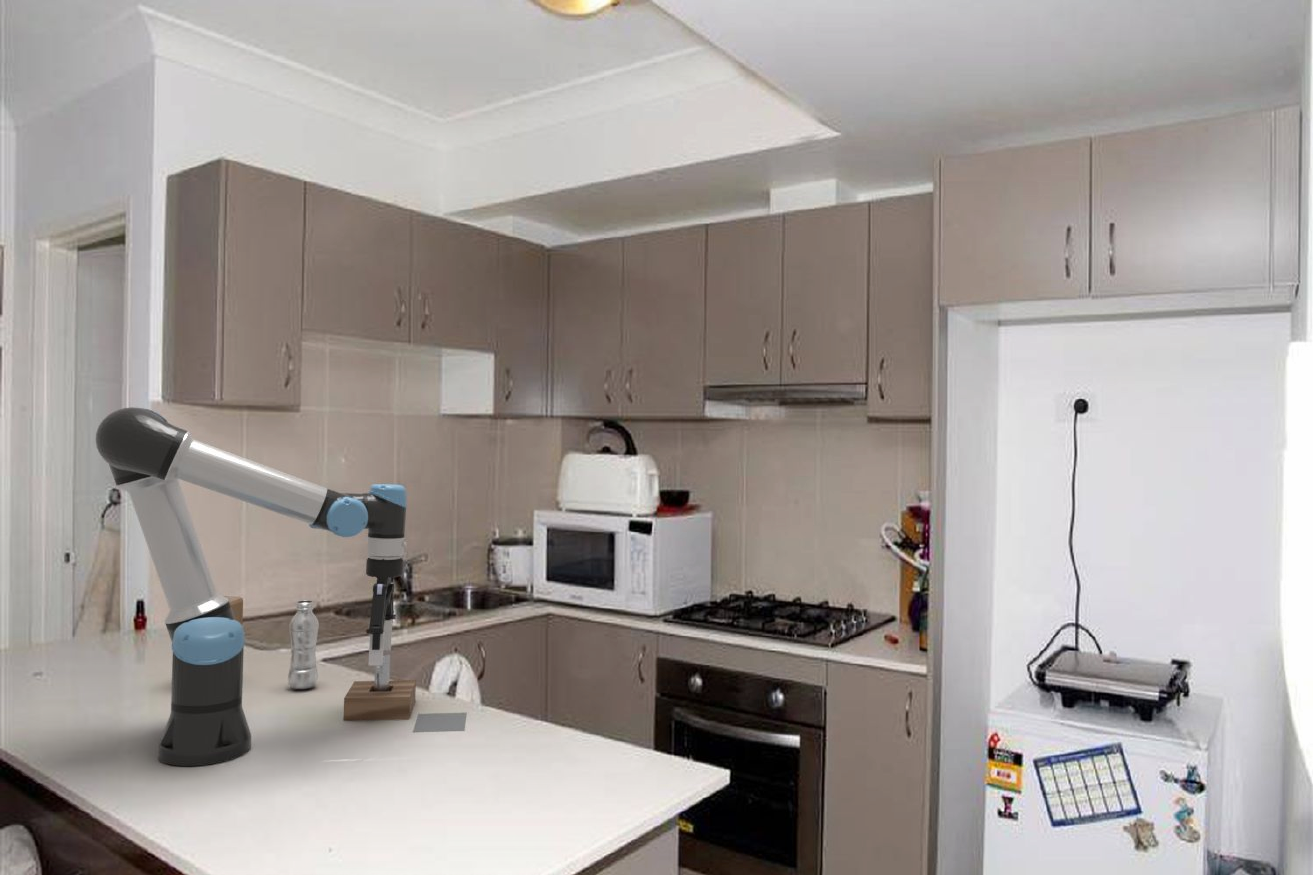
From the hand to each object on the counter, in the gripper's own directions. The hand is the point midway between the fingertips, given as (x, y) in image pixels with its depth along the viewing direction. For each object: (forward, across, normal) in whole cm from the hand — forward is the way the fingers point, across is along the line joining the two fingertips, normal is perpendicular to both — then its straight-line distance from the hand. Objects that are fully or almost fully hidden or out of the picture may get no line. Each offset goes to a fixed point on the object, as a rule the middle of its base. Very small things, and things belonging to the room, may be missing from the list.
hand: (380, 657), depth 190 cm
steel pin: (+12, 0, -1) cm, 12 cm away
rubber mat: (+11, -9, -14) cm, 20 cm away
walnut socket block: (+12, 0, -1) cm, 12 cm away
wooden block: (+13, +24, +40) cm, 49 cm away
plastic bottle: (+12, +20, +19) cm, 30 cm away
